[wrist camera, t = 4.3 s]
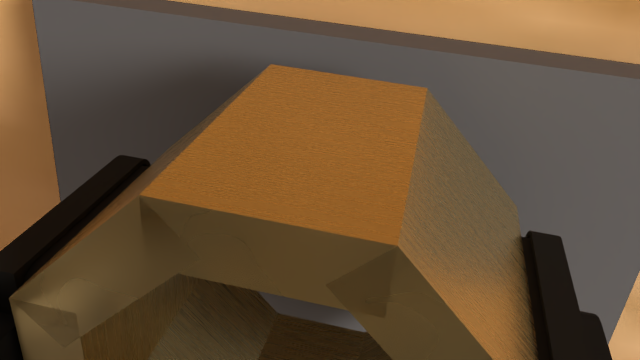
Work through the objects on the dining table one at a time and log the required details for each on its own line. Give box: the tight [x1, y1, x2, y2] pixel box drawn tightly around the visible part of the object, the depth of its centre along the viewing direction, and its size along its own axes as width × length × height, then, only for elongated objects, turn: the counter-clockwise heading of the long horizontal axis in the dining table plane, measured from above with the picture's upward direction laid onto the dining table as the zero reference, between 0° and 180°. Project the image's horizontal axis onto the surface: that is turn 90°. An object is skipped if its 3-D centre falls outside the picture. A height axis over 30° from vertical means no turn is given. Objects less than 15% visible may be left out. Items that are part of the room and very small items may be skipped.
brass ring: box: [9, 64, 539, 360], centre depth 10 cm, size 7×7×5 cm
